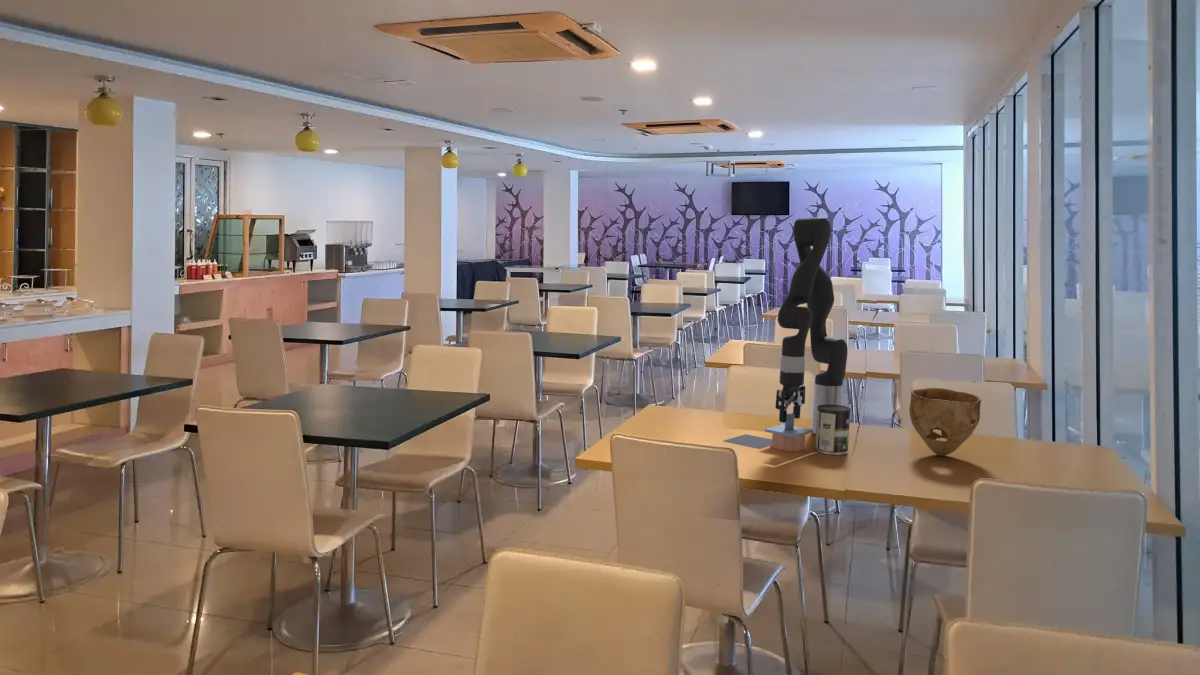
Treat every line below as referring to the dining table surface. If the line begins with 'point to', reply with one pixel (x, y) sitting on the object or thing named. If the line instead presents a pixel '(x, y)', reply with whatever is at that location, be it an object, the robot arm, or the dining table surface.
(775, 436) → the faceted pink cup
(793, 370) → the robot arm
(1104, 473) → the dining table surface
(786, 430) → the lid
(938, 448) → the bowl
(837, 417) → the coffee can
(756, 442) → the mat
